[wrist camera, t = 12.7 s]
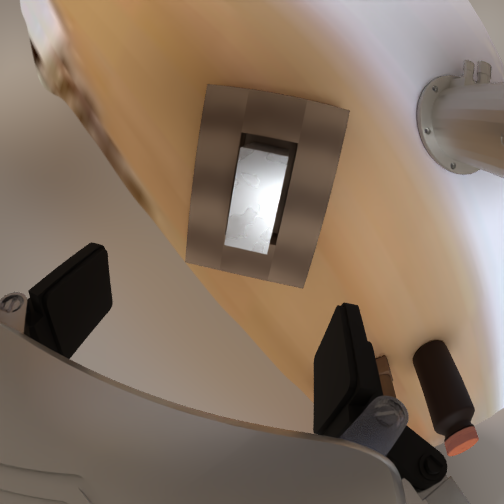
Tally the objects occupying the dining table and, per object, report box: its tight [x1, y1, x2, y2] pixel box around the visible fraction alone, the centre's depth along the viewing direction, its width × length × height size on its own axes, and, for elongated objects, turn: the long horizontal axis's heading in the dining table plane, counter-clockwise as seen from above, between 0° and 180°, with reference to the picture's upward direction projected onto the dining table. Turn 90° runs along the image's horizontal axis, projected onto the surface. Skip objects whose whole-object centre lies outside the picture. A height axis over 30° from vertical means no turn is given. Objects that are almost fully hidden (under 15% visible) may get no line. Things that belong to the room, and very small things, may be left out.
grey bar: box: [224, 142, 289, 254], centre depth 28 cm, size 9×4×8 cm, turn 170°
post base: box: [185, 84, 350, 288], centre depth 30 cm, size 20×14×4 cm
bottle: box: [413, 341, 478, 456], centre depth 31 cm, size 7×7×20 cm
